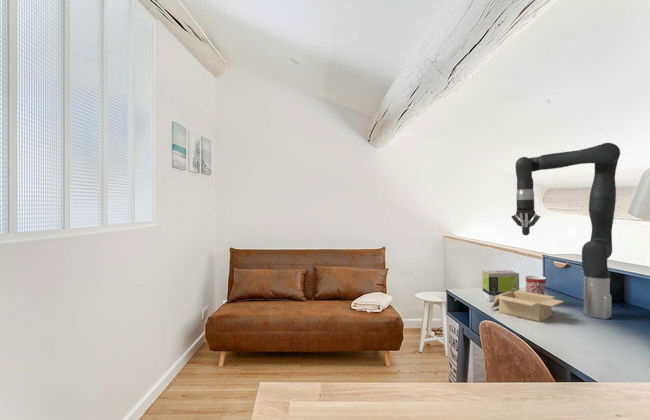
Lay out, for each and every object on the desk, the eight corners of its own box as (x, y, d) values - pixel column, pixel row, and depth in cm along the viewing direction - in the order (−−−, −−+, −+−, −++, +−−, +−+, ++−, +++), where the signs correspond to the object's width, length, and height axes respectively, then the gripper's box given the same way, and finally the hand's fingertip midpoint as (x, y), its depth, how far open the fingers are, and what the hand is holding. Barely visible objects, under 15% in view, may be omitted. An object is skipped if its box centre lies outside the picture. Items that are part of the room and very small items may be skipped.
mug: (549, 307, 177) (549, 279, 177) (528, 306, 180) (528, 278, 179) (540, 300, 190) (540, 274, 190) (520, 299, 192) (520, 273, 192)
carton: (568, 317, 162) (568, 298, 162) (546, 327, 149) (546, 307, 148) (517, 306, 179) (517, 289, 179) (493, 314, 166) (493, 296, 166)
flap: (510, 290, 176) (501, 303, 180) (498, 294, 170) (490, 307, 173) (511, 291, 176) (502, 304, 179) (499, 295, 170) (491, 308, 173)
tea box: (511, 297, 196) (511, 269, 196) (519, 302, 186) (519, 273, 186) (482, 297, 198) (482, 269, 198) (488, 302, 188) (488, 272, 188)
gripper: (543, 198, 176) (544, 235, 176) (515, 199, 187) (515, 234, 187) (536, 198, 172) (537, 236, 172) (507, 199, 182) (508, 234, 182)
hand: (525, 235), depth 179 cm, fingers closed
